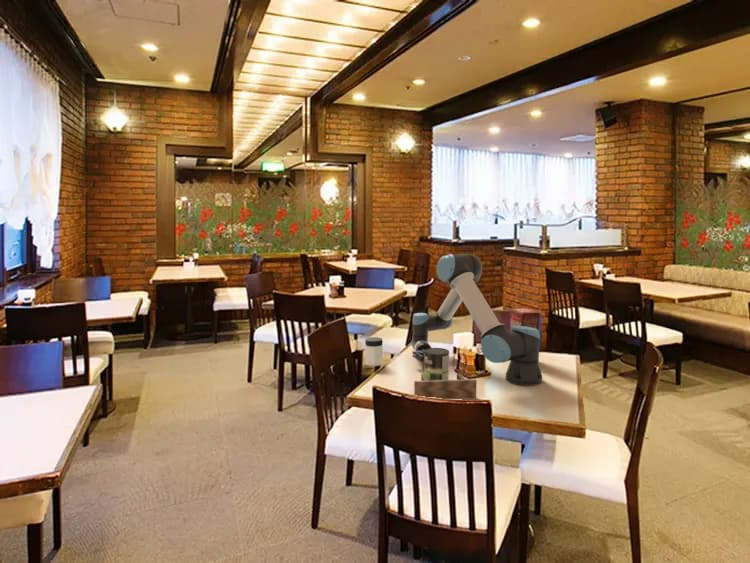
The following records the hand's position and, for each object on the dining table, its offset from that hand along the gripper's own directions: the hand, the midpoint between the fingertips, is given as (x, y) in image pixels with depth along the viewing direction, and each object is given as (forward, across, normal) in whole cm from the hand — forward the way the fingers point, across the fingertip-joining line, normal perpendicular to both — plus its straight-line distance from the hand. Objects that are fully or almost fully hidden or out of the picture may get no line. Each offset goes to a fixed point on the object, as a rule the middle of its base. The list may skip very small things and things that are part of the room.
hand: (432, 363), depth 230 cm
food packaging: (-21, -48, -6) cm, 53 cm away
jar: (-22, +24, -6) cm, 33 cm away
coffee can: (+8, 0, -6) cm, 10 cm away
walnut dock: (+22, 0, -6) cm, 23 cm away
